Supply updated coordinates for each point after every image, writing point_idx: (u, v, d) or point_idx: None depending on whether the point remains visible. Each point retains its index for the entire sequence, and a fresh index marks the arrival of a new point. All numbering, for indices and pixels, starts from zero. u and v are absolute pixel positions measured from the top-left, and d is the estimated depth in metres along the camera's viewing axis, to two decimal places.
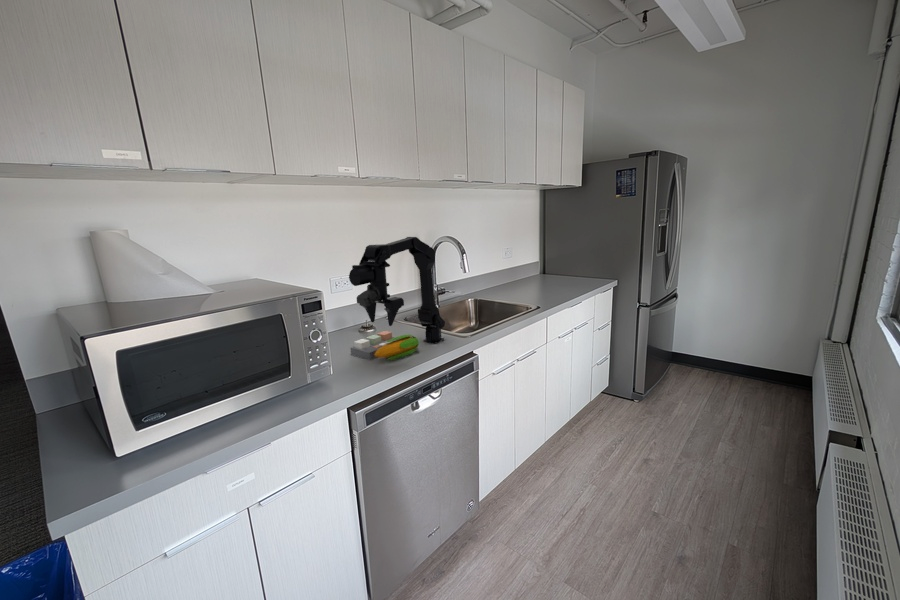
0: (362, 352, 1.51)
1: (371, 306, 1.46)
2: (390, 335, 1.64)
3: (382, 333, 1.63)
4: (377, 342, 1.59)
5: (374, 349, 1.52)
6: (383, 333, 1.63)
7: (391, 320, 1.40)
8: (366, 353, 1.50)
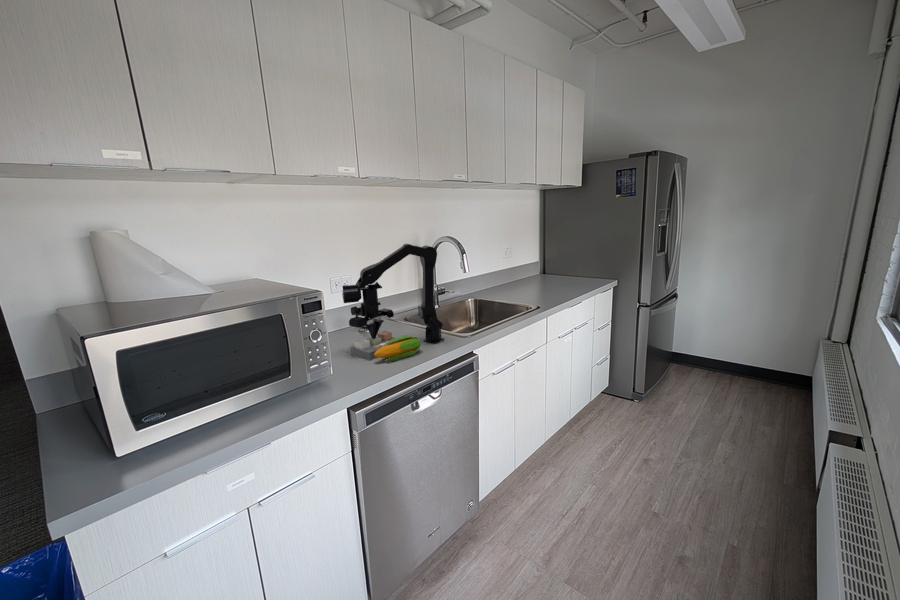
0: (362, 352, 1.51)
1: None
2: (390, 335, 1.64)
3: (382, 333, 1.63)
4: None
5: (374, 349, 1.52)
6: (383, 333, 1.63)
7: (371, 334, 1.59)
8: (366, 353, 1.50)
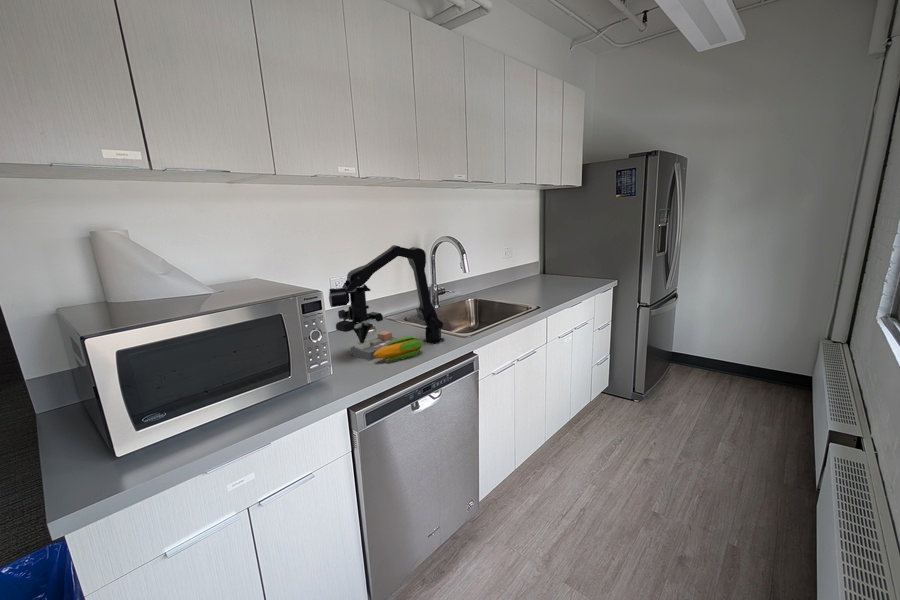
0: (362, 352, 1.51)
1: None
2: (390, 335, 1.64)
3: (382, 333, 1.63)
4: None
5: (374, 349, 1.52)
6: (383, 333, 1.63)
7: (359, 338, 1.54)
8: (366, 353, 1.50)
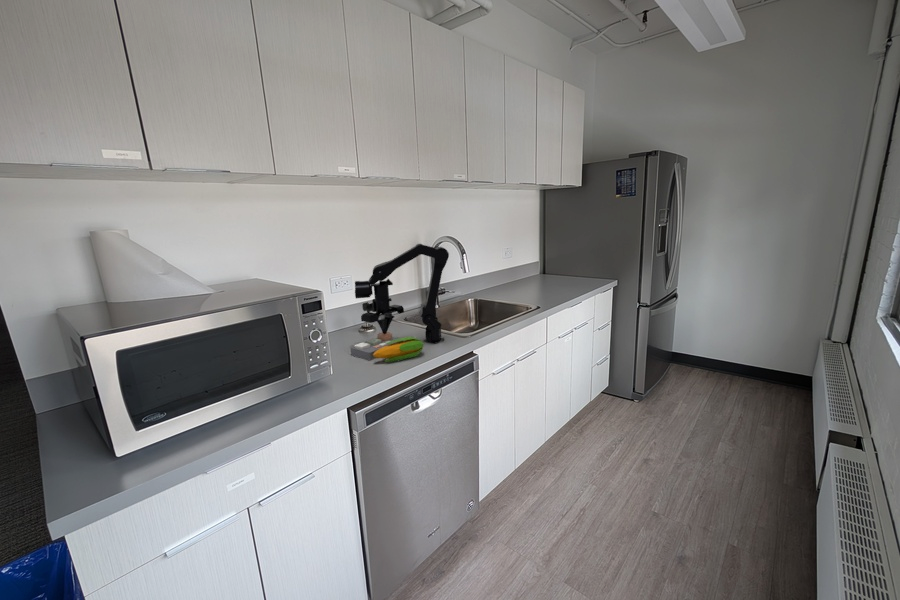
0: (362, 352, 1.51)
1: None
2: (390, 336, 1.64)
3: (382, 334, 1.64)
4: None
5: (374, 349, 1.52)
6: (383, 334, 1.63)
7: (382, 329, 1.63)
8: (366, 353, 1.50)
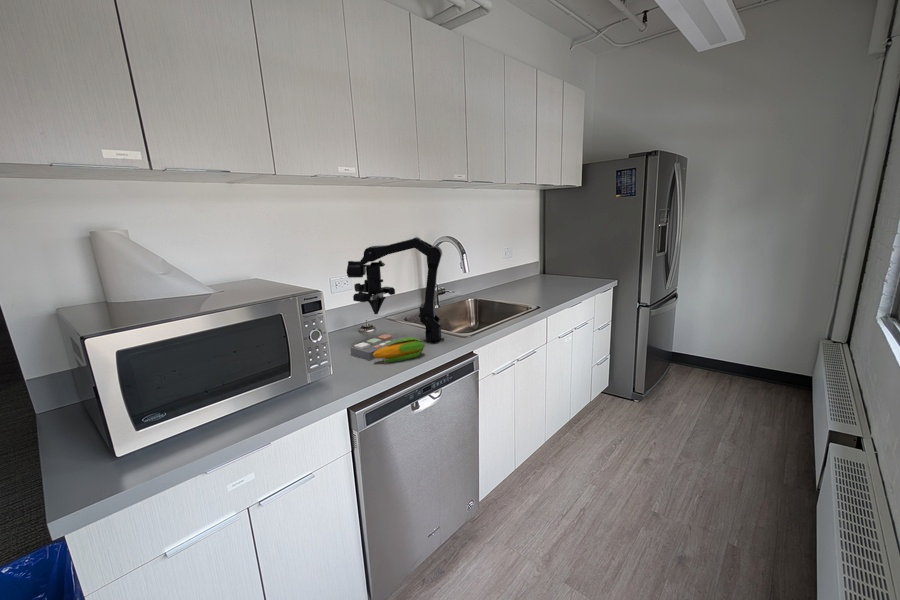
0: (362, 352, 1.51)
1: None
2: (390, 338, 1.64)
3: (382, 336, 1.64)
4: None
5: (374, 349, 1.52)
6: (383, 336, 1.64)
7: (373, 309, 1.66)
8: (366, 353, 1.50)
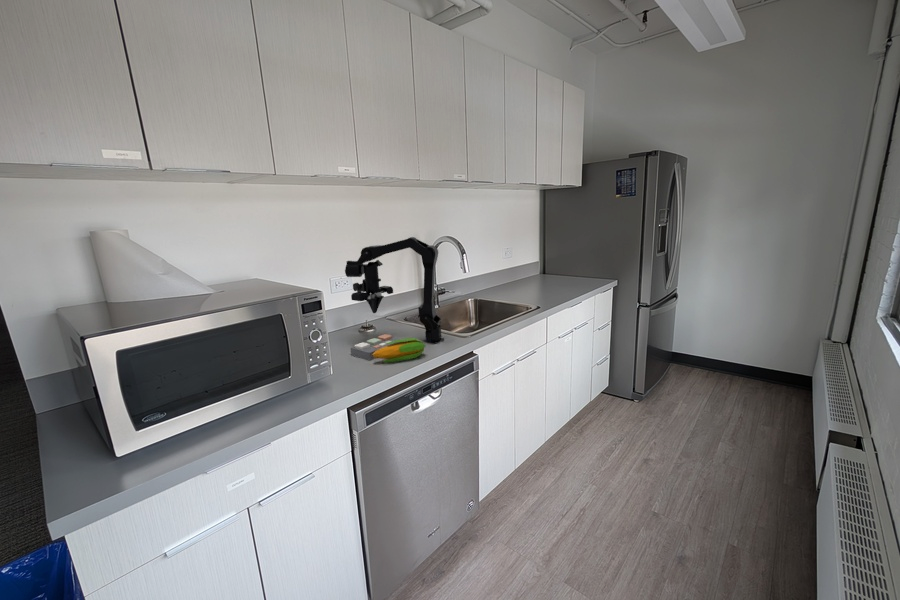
0: (362, 352, 1.51)
1: None
2: (390, 338, 1.64)
3: (382, 336, 1.64)
4: None
5: (374, 349, 1.52)
6: (383, 336, 1.64)
7: (372, 308, 1.69)
8: (366, 353, 1.50)
